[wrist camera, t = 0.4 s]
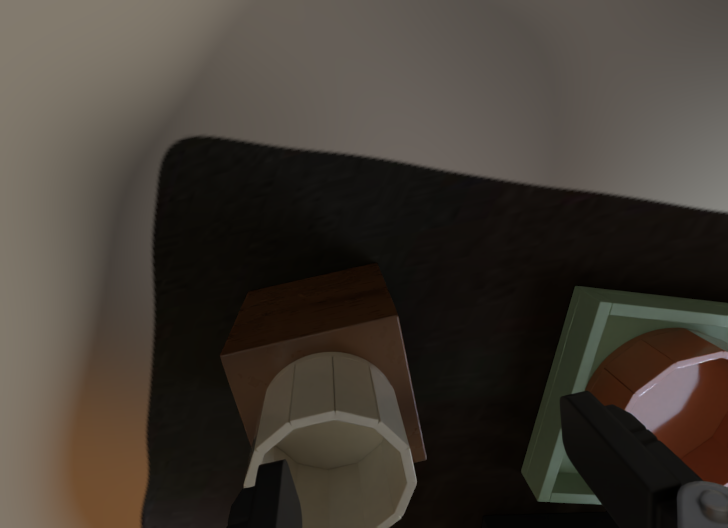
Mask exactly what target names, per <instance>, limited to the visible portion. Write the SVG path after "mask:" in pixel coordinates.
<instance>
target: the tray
mask: <svg viewBox="0 0 728 528" xmlns="http://www.w3.org/2000/svg"><path fill="white" fill-rule="evenodd" d="M676 327H678V328H688V329H693V330H697V331H699V332H702V333H705V334H707V335H708V336H711V337H714V338H718V339H721V340H723V341H725V342H727V343H728V303H723V302H714V301H705V300H697V299H688V298H679V297H670V296H662V295H653V294H644V293H635V292H627V291H618V290H609V289H600V288H591V287H583V286H575V288H574V291H573V295H572V298H571V302H570V305H569V308H568V312H567V315H566V319H565V322H564V326H563V329H562V332H561V336H560V339H559V343H558V346H557V349H556V353H555V356H554V360H553V363H552V367H551V370H550V373H549V377H548V380H547V384H546V387H545V391H544V394H543V397H542V401H541V404H540V408H539V411H538V414H537V418H536V421H535V425H534V428H533V432H532V435H531V438H530V442H529V445H528V449H527V452H526V456H525V459H524V462H523V466H522V469H521V473H522V475H523V476H524V478H525V479H526V482H527V483H528V485H529V487H530V489H531V490H532V492H533V494H534V496H535V497H536V499H537V501H539V502H558V503H578V504H599V505H602V504H601V502H600V501H599V500H598V498H597V497H596V496H595V494H594V493H593V492H592V490H591V489H590V487H589V486H588V485H587V483H586V482H585V481H584V479H583V478H582V477H581V475H580V474H579V473H578V471H577V470H576V469H575V467H574V466H573V464H572V463H571V462H570V460H569V458H568V456H567V454H566V451H565V449H564V445H563V441H562V429H561V416H560V397H561V396H565V395H569V394H573V393H578V392H582V391H585V389H586V386H587V384H588V382H589V380H590V378H591V377H592V375H593V373H594V372H595V370H596V369H597V368H598V367H599V365H600V364H601V363H602V362H603V361H604V360H605V359H606V358H607V357H608V356H609V355H610V354H611V353H612V352H613V351H614V350H616V349H617V348H618V347H620V346H621V345H623V344H624V343H626V342H627V341H629V340H631V339H633V338H635V337H637V336H639V335H642V334H644V333H647V332H650V331H654V330H657V329H663V328H676Z"/></svg>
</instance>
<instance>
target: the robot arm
mask: <svg viewBox="0 0 728 528" xmlns="http://www.w3.org/2000/svg"><path fill="white" fill-rule="evenodd" d="M560 416H561V429H562V441H563V445H564V449H565V451H566V454H567V456H568V458H569V460H570V462H571V463H572V464H573V466H574V467H575V469H576V470H577V471H578V473H579V474H580V475H581V477H582V478H583V479H584V481H585V482H586V483H587V485H588V486H589V487H590V489H591V490H592V492H593V493H594V494H595V496H596V497H597V498H598V500H599V501H600V502H601V504H602V505H603V506H604V508H605V509H606V510H607V512H608V513H609V515H610V516H611V517H612V519H613V520H614V521H615V523H616V524H617V525H618V527H619V528H728V487H726V486H723V485H720V484H717V483H713V482H707V481H703V480H702V479H701V478H700V477H699V476H698V475H697V474H696V473H695V472H694V471H693V470H692V469H690V468H689V467H688V466H687V465H686V464H685V463H684V462H683V461H682V460H681V459H680V458H679V457H678V456H676V455H675V454H674V453H673V452H672V451H671V450H670V449H669V448H668V447H667V446H666V445H665V444H664V443H663V442H661V441H660V440H658V439H657V437H656V436H655V435H654V434H653V433H652V432H651V431H650V430H649V429H648V430H647V429H646V427H645V426H644V425H643V424H642V423H641V422H640V421H639V420H638V419H637V418H636V417H635V416H634V415H632V414H631V413H629V412H627V411H625V410H623V409H621V408H619V407H617V406H615V405H613V404H611V405H607V406H604V405H603V404H602V403H601V402H600V401H599V400H598V399H597V398H596V397H595V396H594V395H593V394H592V393H591V392H589V391H582V392H578V393H573V394H569V395H565V396H561V397H560ZM226 528H302V511H301V505H300V501H299V497H298V494H297V491H296V488H295V484H294V481H293V478H292V475H291V472H290V468H289V465H288V463H287V461H286V459H283V460H279V461H274V462H270V463H265V464H261V465H259V467H258V470H257V475H256V481H255V486H252V487H248V488H244V489H242V490H241V492H240V494H239V495H238V497H237V498H236V500H235V501H234V503H233V504H232V506H231V510H230V515H229V519H228V526H227V527H226Z"/></svg>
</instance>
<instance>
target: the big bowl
mask: <svg viewBox="0 0 728 528" xmlns="http://www.w3.org/2000/svg"><path fill="white" fill-rule="evenodd" d="M585 391H589V392H591V393H592V394H593V395H594V396H595V397H596V398H597V399H598V400H599V401H600V402H601V403H602V404H603V405H604V406H607V405H611V404H613V405H615V406H617V407H619V408H621V409H623V410H625V411H627V412H629V413H631V414H632V415H634V416H635V417H636V418H637V419H638V420H639V421H640V422H641V423H642V424H643V425H644V426H645V427H646V429H647V430H648V429H649V430H650V431H651V432H652V433H653V434H654V435H655V436H656V437H657V439H658V440H660V441H661V442H663V443H664V444H665V445H666V446H667V447H668V448H669V449H670V450H671V451H672V452H673V453H674V454H675V455H676V456H678V457H679V458H680V459H681V460H682V461H683V462H684V463H685V464H686V465H687V466H688V467H689V468H690V469H692V470H693V471H694V472H695V473H696V474H697V475H698V476H699V477H700V478H701V479H702V480H703V481H707V482H713V483H717V484H720V485H723V486H726V487H728V343H727V342H725V341H723V340H721V339H718V338H714V337H711V336H708V335H707V334H705V333H702V332H699V331H697V330H693V329H688V328H678V327H676V328H663V329H657V330H654V331H650V332H647V333H644V334H642V335H639V336H637V337H635V338H633V339H631V340H629V341H627V342H626V343H624V344H623V345H621V346H620V347H618V348H617V349H616V350H614V351H613V352H612V353H611V354H610V355H609V356H608V357H607V358H606V359H605V360H604V361H603V362H602V363H601V364H600V365H599V367H598V368H597V369H596V370H595V372H594V373H593V375H592V377H591V378H590V380H589V382H588V384H587V386H586V389H585Z"/></svg>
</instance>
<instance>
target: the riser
mask: <svg viewBox="0 0 728 528" xmlns="http://www.w3.org/2000/svg"><path fill="white" fill-rule="evenodd" d="M321 352H342V353H348V354H352V355H355V356H358V357H360V358H363V359H365V360H367V361H368V362H370V363H371V364H373V365H374V366H376V367H377V368H378V369H379V370H380V371H381V372H382V373H383V374H384V375H385V376H386V378H387V379H388V381H389V382H390V384H391V386H392V387H393V389H394V391H395V395H396V399H397V402H398V406H399V410H400V413H401V417H402V421H403V424H404V428H405V432H406V435H407V439H408V443H409V446H410V450H411V455H412V460H413V463H415V462H420V461H424V460H426V459H427V456H426V451H425V446H424V441H423V436H422V431H421V426H420V421H419V416H418V411H417V406H416V401H415V396H414V391H413V386H412V381H411V376H410V371H409V366H408V361H407V356H406V351H405V346H404V341H403V336H402V331H401V326H400V321H399V316H398V313H397V311H396V308H395V306H394V303H393V301H392V299H391V296H390V294H389V291H388V289H387V286H386V284H385V281H384V279H383V276H382V274H381V271H380V269H379V266H378V264H377V263H373V264H368V265H364V266H360V267H355V268H351V269H346V270H342V271H337V272H333V273H328V274H324V275H320V276H315V277H311V278H306V279H302V280H297V281H293V282H289V283H284V284H280V285H275V286H271V287H266V288H262V289H258V290H253V291H249V292H248V293H247V296H246V298H245V300H244V302H243V305H242V307H241V309H240V311H239V314H238V316H237V318H236V320H235V323H234V325H233V327H232V329H231V332H230V334H229V336H228V338H227V341H226V343H225V345H224V348H223V350H222V352H221V354H220V358H221V361H222V364H223V367H224V370H225V373H226V376H227V378H228V381H229V384H230V387H231V390H232V393H233V396H234V399H235V402H236V405H237V407H238V410H239V413H240V416H241V419H242V422H243V425H244V428H245V431H246V433H247V436H248V439H249V442H250V445H251V448H252V443H253V438H254V434H255V429H256V425H257V420H258V416H259V413H260V410H261V406H262V402H263V398H264V395H265V393H266V390H267V388H268V386H269V385H270V383H271V381H272V380H273V379H274V378H275V376H276V375H277V374H278V373H279V372H280V371H281V370H282V369H284V368H285V367H286V366H288V365H289V364H291V363H292V362H294V361H296V360H298V359H300V358H302V357H305V356H308V355H311V354H315V353H321Z"/></svg>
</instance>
